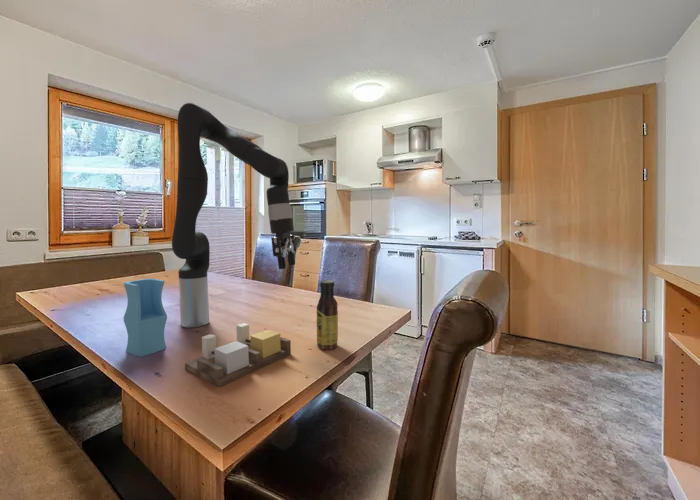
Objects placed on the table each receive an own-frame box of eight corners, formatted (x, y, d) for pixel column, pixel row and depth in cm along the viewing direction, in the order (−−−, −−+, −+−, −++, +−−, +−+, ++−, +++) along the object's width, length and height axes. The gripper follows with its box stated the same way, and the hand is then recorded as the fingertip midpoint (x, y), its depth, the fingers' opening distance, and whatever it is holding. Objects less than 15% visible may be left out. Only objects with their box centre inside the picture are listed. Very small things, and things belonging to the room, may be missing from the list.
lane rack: (185, 368, 81) (184, 353, 81) (256, 342, 99) (256, 329, 99) (218, 386, 72) (218, 369, 72) (290, 353, 90) (290, 340, 90)
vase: (139, 357, 88) (135, 285, 86) (125, 351, 92) (121, 282, 90) (168, 347, 94) (164, 280, 93) (154, 342, 99) (150, 278, 97)
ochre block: (231, 346, 92) (230, 326, 91) (249, 339, 96) (248, 321, 96) (263, 358, 84) (262, 337, 83) (280, 350, 88) (280, 330, 88)
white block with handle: (196, 359, 83) (195, 338, 83) (217, 351, 88) (216, 332, 87) (227, 374, 75) (226, 351, 75) (248, 365, 80) (248, 343, 79)
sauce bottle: (316, 342, 98) (316, 278, 96) (337, 342, 99) (337, 278, 97) (316, 351, 92) (315, 283, 90) (338, 350, 92) (338, 282, 90)
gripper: (278, 219, 114) (285, 265, 115) (260, 219, 100) (267, 271, 101) (298, 217, 112) (305, 262, 113) (283, 216, 98) (290, 269, 99)
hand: (287, 266), depth 107 cm, fingers open, 8 cm apart
